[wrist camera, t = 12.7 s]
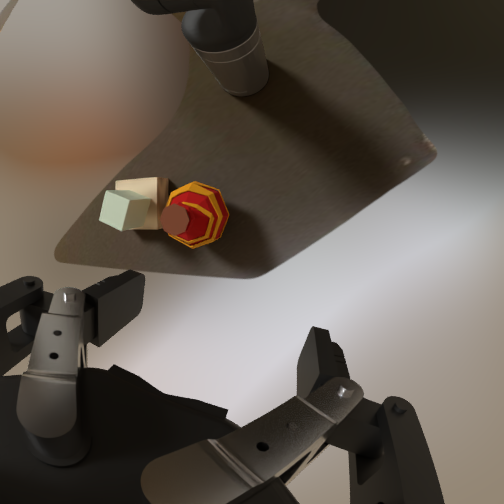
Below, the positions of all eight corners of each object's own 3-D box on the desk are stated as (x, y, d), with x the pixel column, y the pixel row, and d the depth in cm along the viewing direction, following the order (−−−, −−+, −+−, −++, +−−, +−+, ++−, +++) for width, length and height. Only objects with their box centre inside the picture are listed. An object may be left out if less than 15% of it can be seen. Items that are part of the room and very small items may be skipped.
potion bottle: (237, 182, 46) (213, 177, 32) (236, 241, 48) (212, 262, 34) (181, 183, 48) (138, 180, 33) (181, 239, 50) (140, 256, 35)
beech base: (129, 181, 49) (115, 181, 44) (169, 178, 48) (157, 177, 43) (130, 225, 51) (116, 229, 46) (169, 226, 50) (157, 229, 45)
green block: (129, 189, 44) (106, 190, 38) (151, 198, 44) (129, 200, 37) (122, 216, 46) (99, 220, 39) (143, 225, 45) (121, 230, 39)
